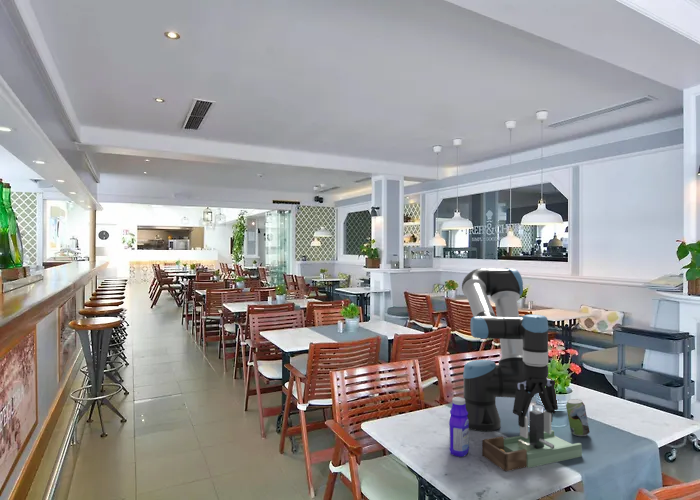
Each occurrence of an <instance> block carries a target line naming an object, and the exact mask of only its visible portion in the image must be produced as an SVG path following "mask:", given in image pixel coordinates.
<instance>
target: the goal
mask: <svg viewBox="0 0 700 500" xmlns="http://www.w3.org/2000/svg"><path fill="white" fill-rule="evenodd" d="M481 442H482V443H481V445H482V446H481V447H482V448H481V451H482V452H481V454H482V455H481V456H482V457H484V459H487V460H488V461H489V462H491V463H492V464H494V465H495V466H497V467H499V468H500V469H502V470H503V471H505V472H509V471H514V470H519V469H523V468H527V450H525V449H523V450H518V451H512V452H507V453H505V452H504V451H502V450H501V449H503V450H504V436H502V435H501V436H495V437H490V438H485V439H482V440H481Z"/></svg>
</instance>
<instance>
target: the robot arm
mask: <svg viewBox="0 0 700 500" xmlns="http://www.w3.org/2000/svg"><path fill="white" fill-rule="evenodd" d="M523 285H524V283H523V278H522V275H521V273H520V272H519V271H518V270H517V269H516V268H509V267H504V268H497V267H496V268H493V267H492V268H489V267H488V268H487V267H486V268H484V267H480V268H476V269H473V270H472V271H470V272H469V273H468V274H467V275H465V277H464V278H463V280H462V283H461V291H462V294H463V295H464V297H465V298H467V301H468V304H469V306H470V311H471V313H472V317H471V318H470V325H469V326H470V327H469V328H470V335H471V337H473V338H475V339H483V340H486V339H488V340H489V339H490V340H491V339H492V340H493V339H497V340H499V343H500V344H499V345H500V351H501V358H500V359H499V360H498V364H496V362H495V361H494V360H492V359H476V360H470V361H469V362H467V363H466V364H464V367H463V375H462V378H463V398H464V399H465V406H466V410H467V412H468V415H467V417H468V420H469V430H474V431H477V432H478V431H480V432H492V431H497V430H498V429H500V428H501V417H500V414H499V411H498V408H497V405H496V404H497V403H496V398H512V399H514V401H513V402H514V403H513V408H512V413H513V414H514V415H515V416H517V417H518V424H517V425H518V426H519V436H522V437H524V438H528V432H529V417H528V416H527V413H528V410H529V408H530V405H531V402H532V401H533V400H532V399H533V398H534V397H535V396H536V395H538V393H539V396H540V398H541V401H542V403H543V405H544V406H543V405H542V406H543V408H544V410H543V411H542V413H544V432H546V433H548V434H551V430H552V423H553V420H554V417H553V415H554V414H556V411H558V409H559V405H558V404H557V400H556V394H555V389H554V385H555V381H554V380H551V379H548V378H547V377H548V374H549V366H548V364H549V323H548V322H549V321H548V318H547V316H546V315H543V314H542V315H541V314H525V315H519V313H520V312H519V307H518V306H519V305H518V301H519V300H520V298H521V296H522V295H523V292H524V286H523ZM488 296H489V297H490V299H489V297H488ZM490 300H491V302H493V303H494V304H495V311H494V309H493V307H492V305H491V302H490ZM495 313H496V314H495ZM545 386H546V388H545ZM539 396H538V397H539Z"/></svg>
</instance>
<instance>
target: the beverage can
mask: <svg viewBox="0 0 700 500" xmlns="http://www.w3.org/2000/svg"><path fill="white" fill-rule="evenodd" d="M565 408H566V412H567V420H568V425H569V430H570V433H571V434H573V435H575V436H576V437H577V436H578V437H586V436H587V435H588V434H590V426H589V420H588V417H587V416H588V415H587V411H586V406H585V403H584V402H583V400H581V399H578V398H575V399H574V398H573V399H571V398H570V399H569V400H567V401H566V404H565Z"/></svg>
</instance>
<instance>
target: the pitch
mask: <svg viewBox="0 0 700 500" xmlns="http://www.w3.org/2000/svg"><path fill="white" fill-rule="evenodd" d="M518 440H523V441H524V442H526V443H530V437H529V436H528V438H524V437H522V436H521V435H516V436H511V437H506V438H504V451H505V452H506V453H507V452H512V451H518V450H523V449H522V448H520V447H519V446H518ZM544 440H545V441H547V442H549V443H551V444H553V445H554V448H553V449H552V448H550V447H548V446H546V445H545V444H544V447H543V448H538V449H536V448H530V451H527V467H526V468H527V469H530V468H534V467H538V466H544V465H548V464H553V463H557V462H563V461H567V460H572V459H578V458H581V457H583V449H582V447H583V444H582V443H581V442H575V443H570V442H568V441H566V440H564V439H562V438H560V437H558V436H556V435H555V430H553V429H551V434H548V433H546V432H544Z"/></svg>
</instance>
